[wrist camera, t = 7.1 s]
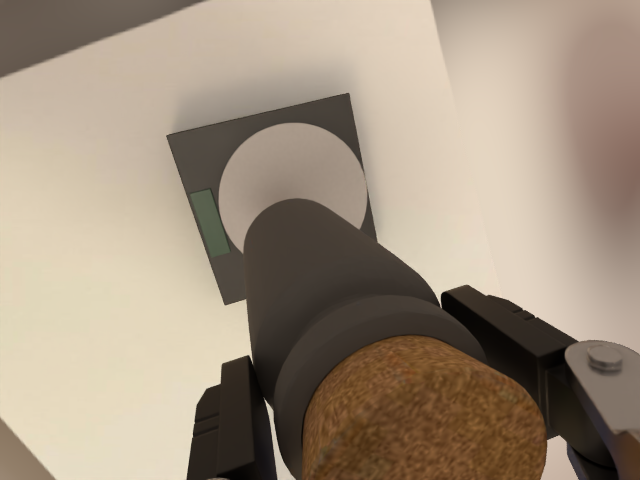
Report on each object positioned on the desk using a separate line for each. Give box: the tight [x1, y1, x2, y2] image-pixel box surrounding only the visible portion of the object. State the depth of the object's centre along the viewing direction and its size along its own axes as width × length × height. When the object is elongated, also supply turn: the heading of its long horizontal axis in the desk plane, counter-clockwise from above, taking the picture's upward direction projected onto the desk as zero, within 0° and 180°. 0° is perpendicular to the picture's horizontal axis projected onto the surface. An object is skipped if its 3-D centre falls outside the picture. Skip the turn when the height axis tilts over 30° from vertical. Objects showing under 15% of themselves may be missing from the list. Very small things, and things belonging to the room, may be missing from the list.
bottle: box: [243, 198, 547, 480], centre depth 13 cm, size 6×6×15 cm
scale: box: [166, 93, 377, 305], centre depth 35 cm, size 16×16×3 cm
